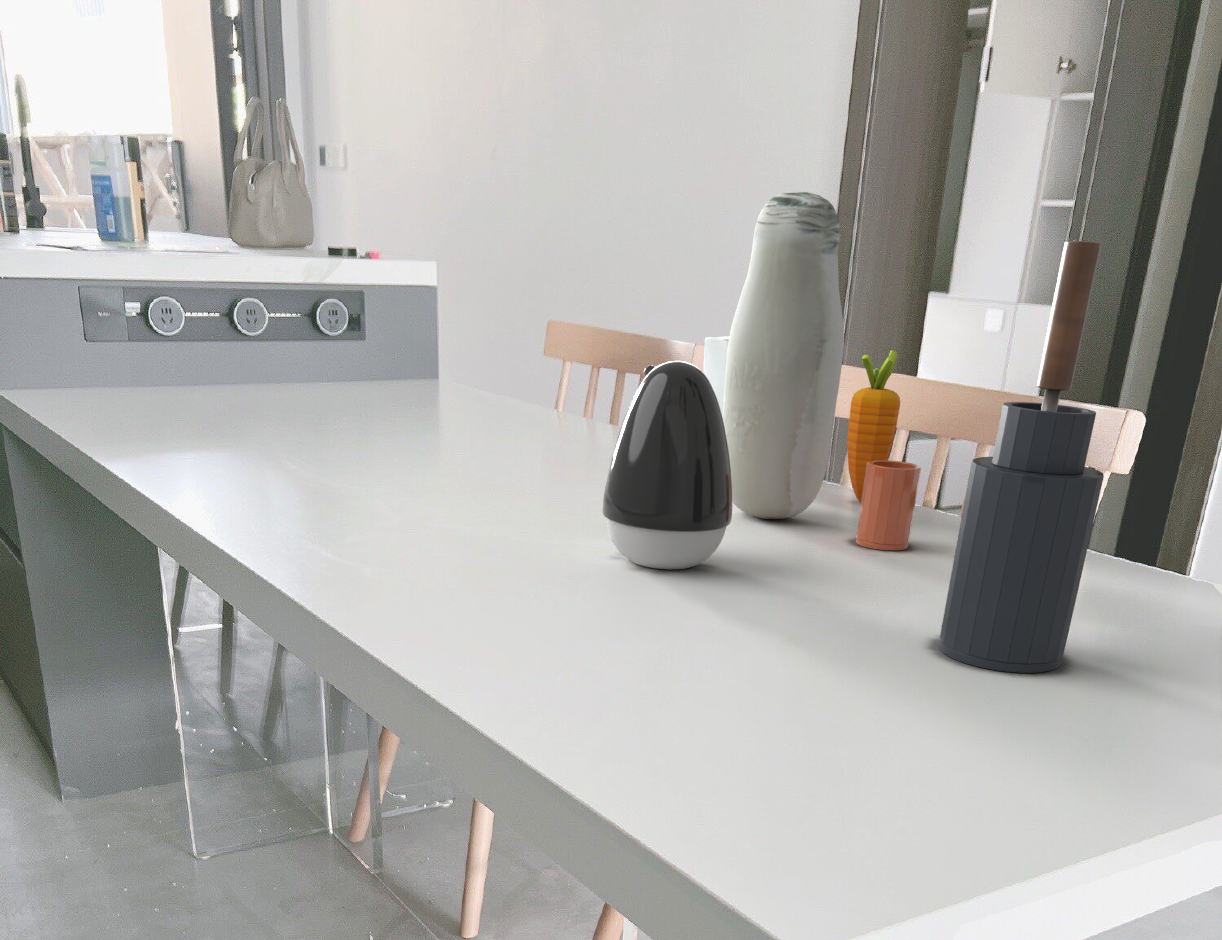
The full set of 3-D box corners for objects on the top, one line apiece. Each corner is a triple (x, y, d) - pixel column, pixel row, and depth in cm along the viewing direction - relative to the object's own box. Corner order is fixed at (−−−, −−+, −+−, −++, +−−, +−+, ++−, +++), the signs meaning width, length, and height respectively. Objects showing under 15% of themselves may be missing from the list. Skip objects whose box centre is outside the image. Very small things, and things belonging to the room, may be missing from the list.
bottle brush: (1022, 643, 81) (1106, 243, 71) (1020, 653, 79) (1107, 242, 69) (982, 637, 82) (1060, 241, 72) (979, 647, 79) (1059, 239, 69)
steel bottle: (1062, 648, 83) (1116, 408, 76) (1060, 680, 76) (1118, 420, 69) (944, 630, 85) (987, 396, 78) (932, 660, 78) (978, 407, 72)
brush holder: (910, 543, 111) (923, 464, 108) (904, 553, 107) (917, 471, 104) (860, 536, 112) (871, 458, 109) (851, 546, 108) (863, 465, 105)
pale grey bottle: (840, 522, 118) (885, 197, 106) (764, 531, 112) (803, 187, 100) (767, 503, 125) (801, 196, 113) (692, 510, 119) (721, 187, 107)
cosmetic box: (782, 482, 137) (798, 340, 130) (742, 486, 133) (758, 340, 127) (730, 470, 142) (744, 333, 136) (691, 473, 139) (704, 332, 133)
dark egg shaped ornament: (691, 545, 105) (707, 356, 98) (749, 575, 96) (771, 370, 90) (579, 548, 101) (589, 352, 94) (630, 580, 92) (644, 366, 86)
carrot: (840, 505, 126) (862, 350, 120) (834, 496, 131) (854, 346, 124) (888, 508, 126) (912, 353, 120) (881, 499, 131) (903, 350, 124)
